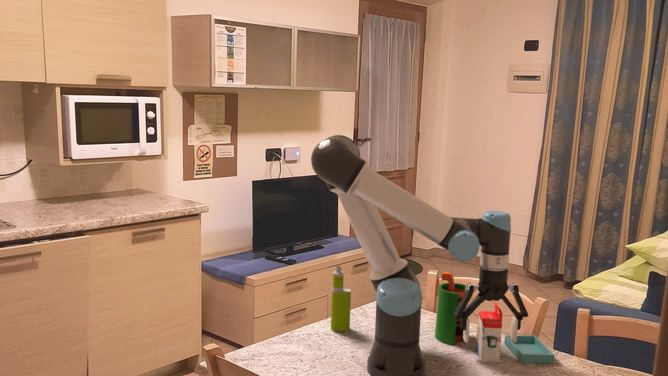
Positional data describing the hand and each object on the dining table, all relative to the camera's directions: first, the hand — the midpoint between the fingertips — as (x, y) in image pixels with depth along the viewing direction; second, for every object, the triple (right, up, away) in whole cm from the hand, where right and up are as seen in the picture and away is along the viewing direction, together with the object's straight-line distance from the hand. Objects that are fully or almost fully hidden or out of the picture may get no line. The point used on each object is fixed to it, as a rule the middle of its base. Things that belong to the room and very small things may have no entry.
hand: (489, 340), depth 162 cm
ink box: (0, -5, +1) cm, 5 cm away
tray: (+12, -4, +3) cm, 13 cm away
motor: (-9, -3, +13) cm, 16 cm away
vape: (-42, -1, +17) cm, 45 cm away
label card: (+1, -3, +13) cm, 14 cm away
